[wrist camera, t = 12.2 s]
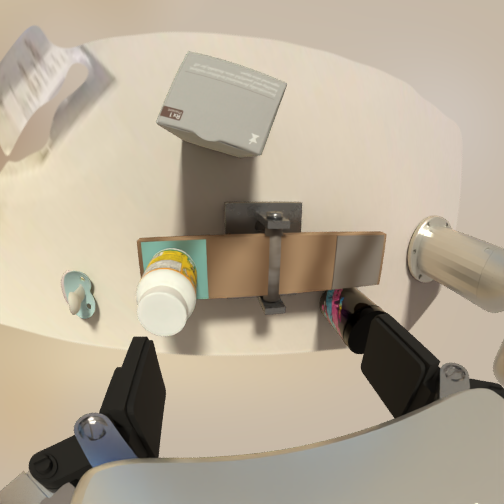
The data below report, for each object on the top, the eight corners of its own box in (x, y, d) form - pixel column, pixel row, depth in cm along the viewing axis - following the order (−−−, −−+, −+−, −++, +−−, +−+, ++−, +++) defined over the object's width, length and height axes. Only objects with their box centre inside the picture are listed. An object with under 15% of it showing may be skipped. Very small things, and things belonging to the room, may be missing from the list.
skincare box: (257, 115, 32) (298, 77, 17) (238, 165, 34) (266, 160, 19) (195, 94, 30) (191, 40, 15) (175, 144, 31) (152, 124, 16)
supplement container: (338, 271, 40) (374, 301, 31) (362, 293, 43) (398, 324, 33) (309, 304, 41) (338, 342, 31) (335, 324, 43) (365, 360, 34)
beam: (379, 225, 34) (388, 228, 32) (371, 284, 36) (378, 290, 34) (139, 230, 29) (135, 234, 27) (147, 300, 31) (145, 307, 29)
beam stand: (299, 201, 36) (324, 210, 29) (294, 291, 40) (314, 317, 32) (224, 202, 35) (230, 211, 27) (226, 295, 38) (232, 325, 31)
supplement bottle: (149, 245, 28) (126, 279, 19) (199, 249, 29) (197, 286, 20) (148, 291, 29) (130, 339, 20) (195, 295, 30) (194, 346, 21)
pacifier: (69, 310, 35) (101, 311, 36) (52, 330, 29) (86, 333, 30) (58, 266, 33) (91, 265, 34) (38, 282, 27) (72, 282, 28)
